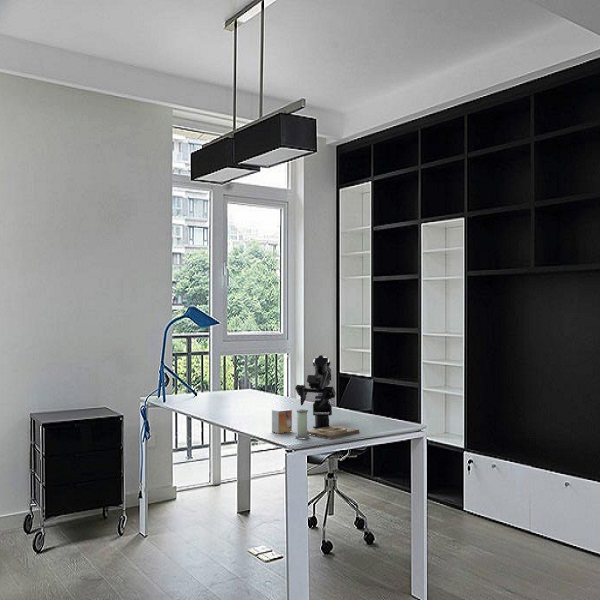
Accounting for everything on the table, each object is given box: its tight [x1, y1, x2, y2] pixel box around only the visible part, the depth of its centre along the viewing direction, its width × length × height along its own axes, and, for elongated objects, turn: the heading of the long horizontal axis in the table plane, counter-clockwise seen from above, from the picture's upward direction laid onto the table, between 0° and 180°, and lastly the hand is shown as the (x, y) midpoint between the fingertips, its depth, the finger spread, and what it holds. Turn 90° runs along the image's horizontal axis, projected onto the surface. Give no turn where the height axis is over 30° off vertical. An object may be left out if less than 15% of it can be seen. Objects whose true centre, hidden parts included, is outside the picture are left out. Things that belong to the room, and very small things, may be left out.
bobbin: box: [294, 408, 311, 439], centre depth 306 cm, size 6×6×12 cm
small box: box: [271, 408, 293, 434], centre depth 320 cm, size 8×6×10 cm
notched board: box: [307, 424, 360, 439], centre depth 315 cm, size 16×20×2 cm
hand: (310, 405), depth 312 cm, fingers open, 9 cm apart
